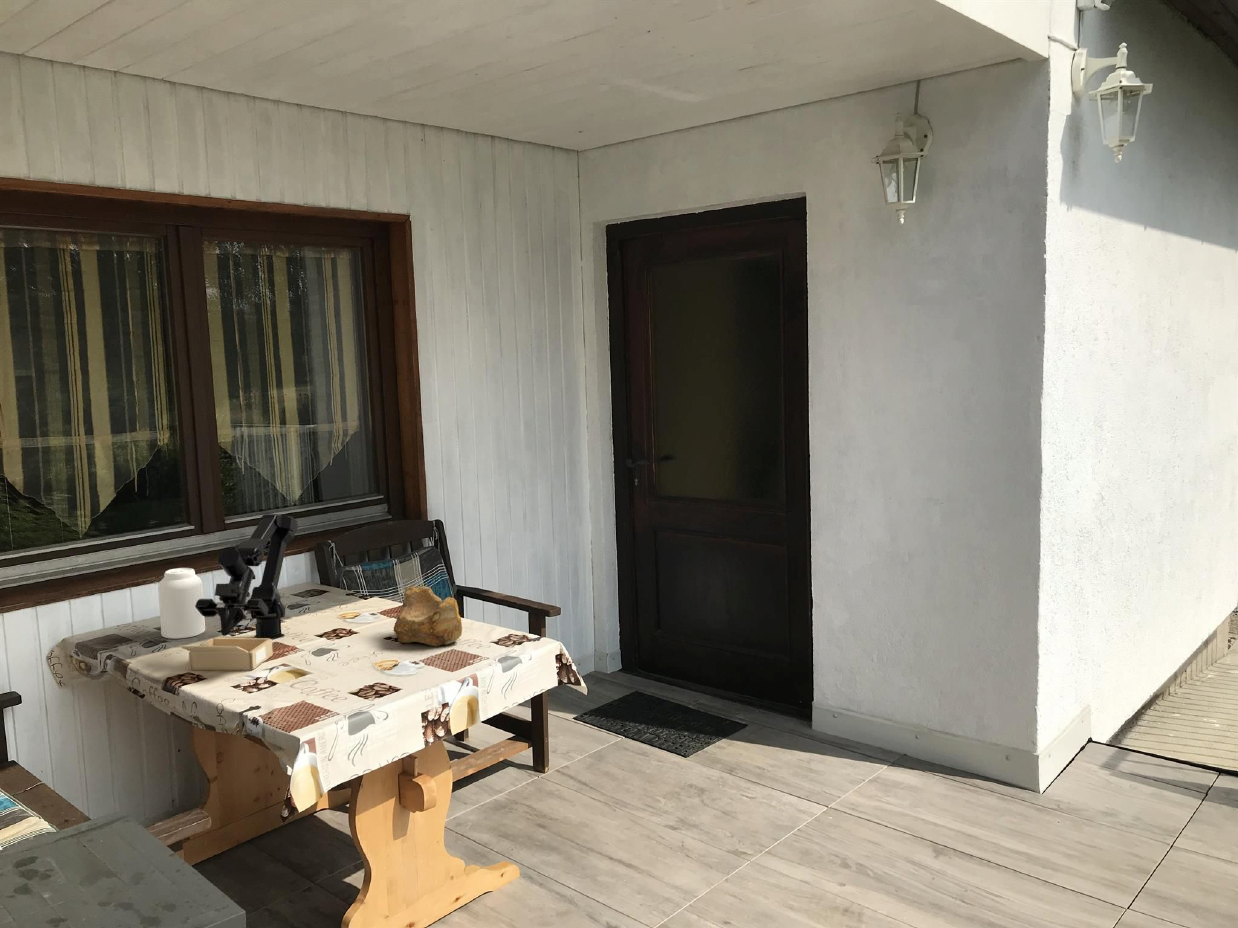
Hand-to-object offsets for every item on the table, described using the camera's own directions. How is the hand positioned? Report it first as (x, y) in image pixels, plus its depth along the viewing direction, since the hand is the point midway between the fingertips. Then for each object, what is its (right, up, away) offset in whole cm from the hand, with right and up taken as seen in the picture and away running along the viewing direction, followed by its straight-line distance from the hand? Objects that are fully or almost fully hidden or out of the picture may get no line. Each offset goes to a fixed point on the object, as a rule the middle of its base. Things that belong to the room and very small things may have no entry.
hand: (223, 635), depth 270 cm
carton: (0, -9, +5) cm, 10 cm away
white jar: (-26, -6, +34) cm, 44 cm away
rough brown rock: (+50, -6, +23) cm, 55 cm away
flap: (0, -4, -2) cm, 5 cm away
